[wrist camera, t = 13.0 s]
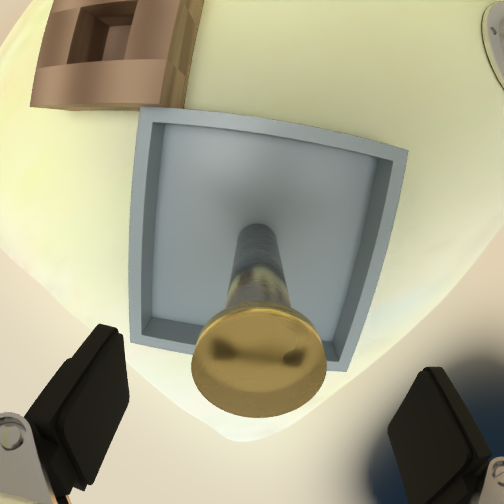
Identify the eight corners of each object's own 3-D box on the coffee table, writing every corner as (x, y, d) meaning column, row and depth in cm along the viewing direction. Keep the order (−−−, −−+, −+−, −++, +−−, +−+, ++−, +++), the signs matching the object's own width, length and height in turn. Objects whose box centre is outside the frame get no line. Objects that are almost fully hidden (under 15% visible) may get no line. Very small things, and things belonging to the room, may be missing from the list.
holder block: (204, -1, 19) (190, -36, 13) (182, 113, 22) (159, 104, 17) (94, 6, 19) (60, -18, 13) (72, 110, 22) (29, 106, 16)
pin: (292, 217, 24) (343, 324, 10) (281, 274, 25) (308, 421, 11) (230, 208, 24) (195, 306, 10) (223, 266, 25) (189, 409, 11)
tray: (387, 148, 23) (408, 150, 19) (337, 346, 28) (346, 371, 25) (157, 111, 22) (140, 106, 19) (144, 319, 28) (130, 342, 24)
